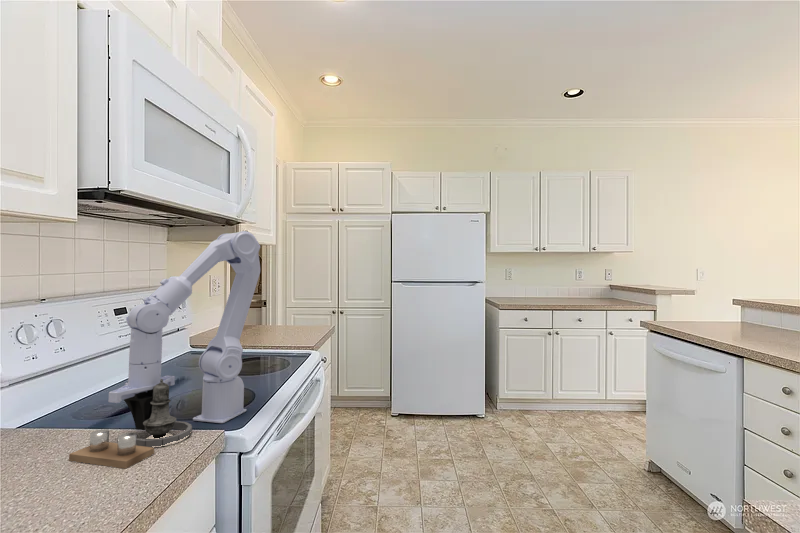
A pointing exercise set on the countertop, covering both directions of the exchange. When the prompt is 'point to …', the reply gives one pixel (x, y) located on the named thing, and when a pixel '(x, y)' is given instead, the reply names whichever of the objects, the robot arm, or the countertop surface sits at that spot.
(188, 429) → the segmented grey arc
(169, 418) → the grey stone tall piece
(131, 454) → the pin board
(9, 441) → the countertop surface
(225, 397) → the robot arm
